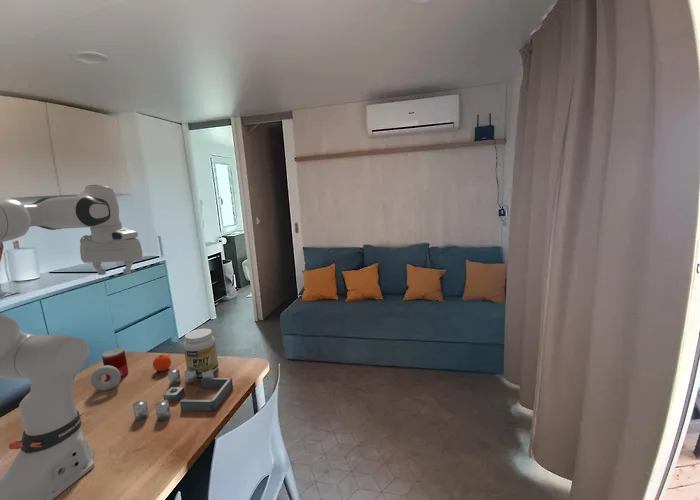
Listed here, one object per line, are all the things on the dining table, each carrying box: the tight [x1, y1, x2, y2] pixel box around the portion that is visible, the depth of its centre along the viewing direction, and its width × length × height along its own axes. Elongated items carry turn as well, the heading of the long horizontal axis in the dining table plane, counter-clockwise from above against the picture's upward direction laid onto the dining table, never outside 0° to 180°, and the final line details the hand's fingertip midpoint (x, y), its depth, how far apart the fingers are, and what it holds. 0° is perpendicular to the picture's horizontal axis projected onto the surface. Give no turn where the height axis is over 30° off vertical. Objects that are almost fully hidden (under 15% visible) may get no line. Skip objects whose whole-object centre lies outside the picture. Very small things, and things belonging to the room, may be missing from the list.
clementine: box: [152, 353, 172, 372], centre depth 150 cm, size 8×7×7 cm
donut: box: [90, 365, 122, 392], centre depth 137 cm, size 10×4×10 cm, turn 108°
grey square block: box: [162, 386, 186, 403], centre depth 129 cm, size 5×5×3 cm
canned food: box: [101, 347, 129, 381], centre depth 147 cm, size 8×8×11 cm
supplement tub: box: [183, 328, 219, 378], centre depth 146 cm, size 12×12×17 cm
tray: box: [179, 377, 234, 412], centre depth 128 cm, size 15×12×4 cm
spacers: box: [132, 368, 215, 422], centre depth 128 cm, size 25×18×5 cm
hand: (114, 274), depth 120 cm, fingers open, 8 cm apart
